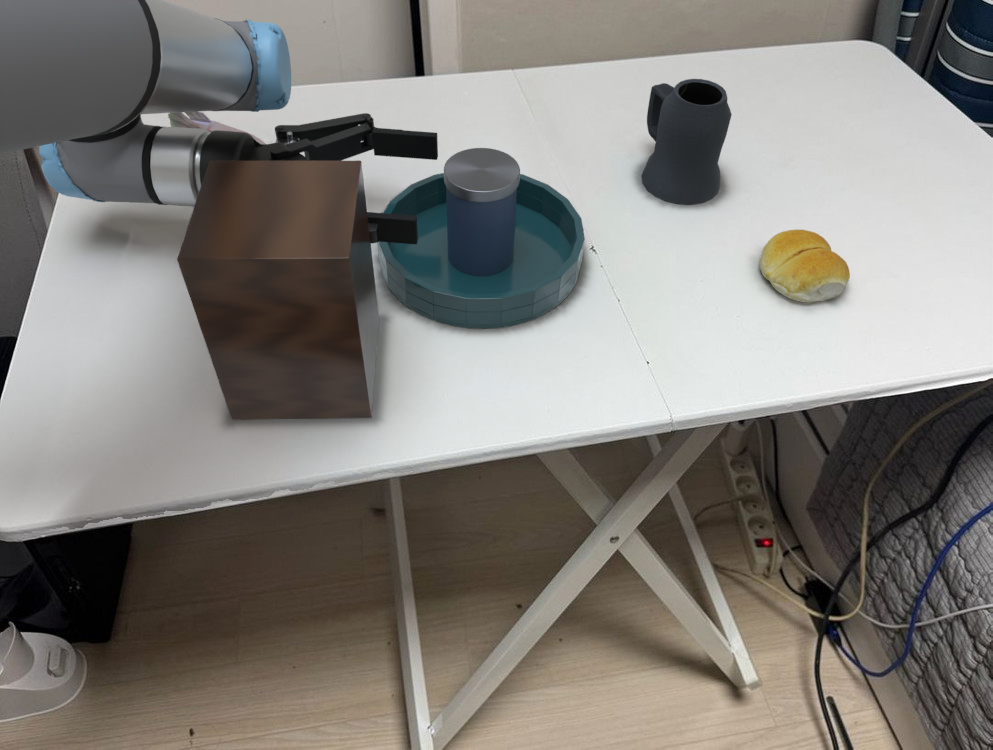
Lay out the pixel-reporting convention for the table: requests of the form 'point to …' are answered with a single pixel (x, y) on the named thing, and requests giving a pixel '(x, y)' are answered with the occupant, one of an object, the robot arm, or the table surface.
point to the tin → (481, 210)
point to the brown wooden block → (285, 287)
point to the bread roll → (803, 266)
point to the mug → (686, 140)
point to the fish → (201, 123)
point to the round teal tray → (495, 298)
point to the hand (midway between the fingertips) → (428, 186)
